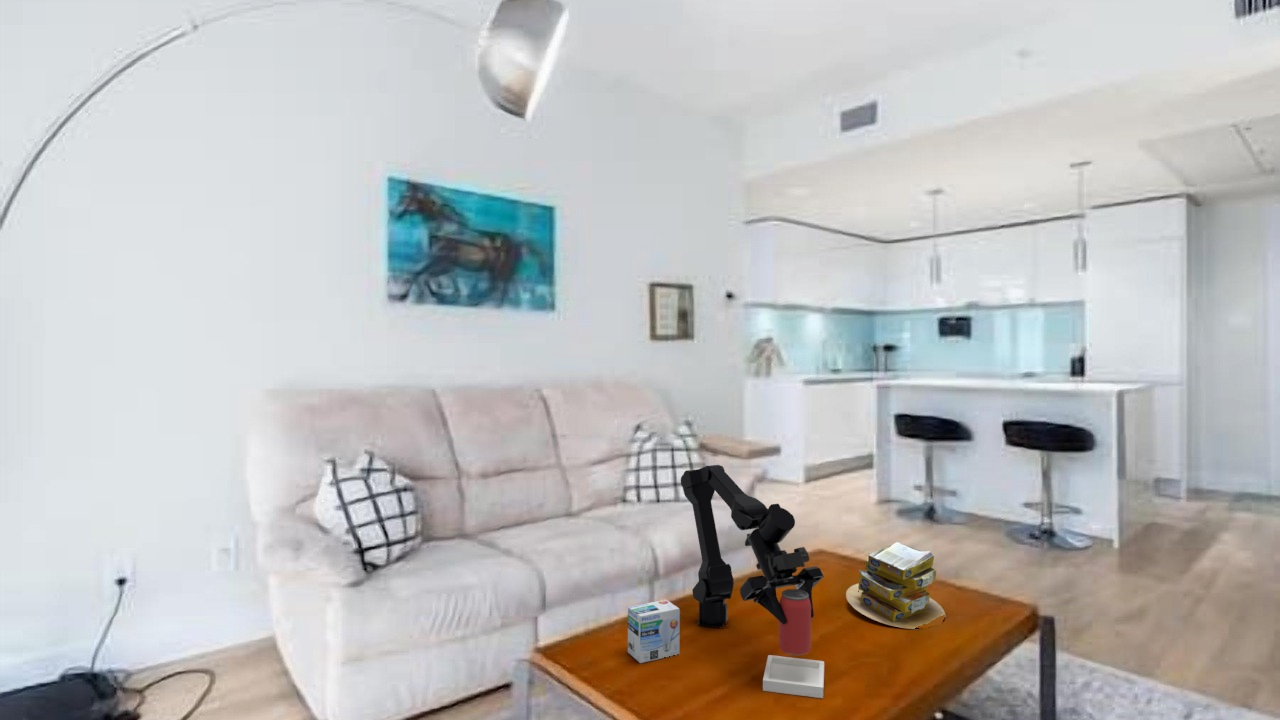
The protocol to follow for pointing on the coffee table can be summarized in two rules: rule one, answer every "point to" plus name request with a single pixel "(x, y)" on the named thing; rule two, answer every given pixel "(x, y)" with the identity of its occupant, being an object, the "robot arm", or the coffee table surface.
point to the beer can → (795, 622)
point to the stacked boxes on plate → (896, 587)
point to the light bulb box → (653, 630)
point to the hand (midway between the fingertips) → (798, 620)
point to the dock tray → (794, 676)
